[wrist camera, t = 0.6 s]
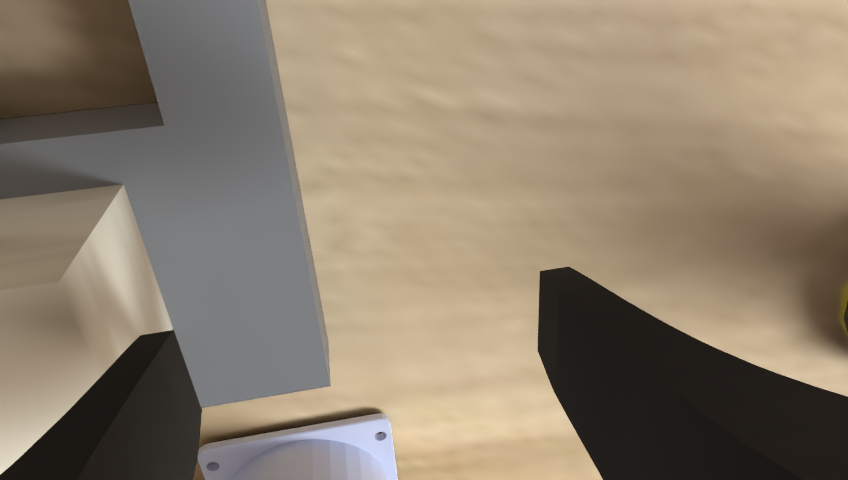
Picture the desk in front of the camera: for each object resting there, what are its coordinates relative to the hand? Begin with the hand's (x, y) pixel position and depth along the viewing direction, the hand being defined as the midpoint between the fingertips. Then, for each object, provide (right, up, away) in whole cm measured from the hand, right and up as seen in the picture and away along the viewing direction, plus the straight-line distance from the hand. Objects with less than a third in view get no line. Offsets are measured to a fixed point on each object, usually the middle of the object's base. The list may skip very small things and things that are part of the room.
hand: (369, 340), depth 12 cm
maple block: (-10, +1, +6) cm, 11 cm away
